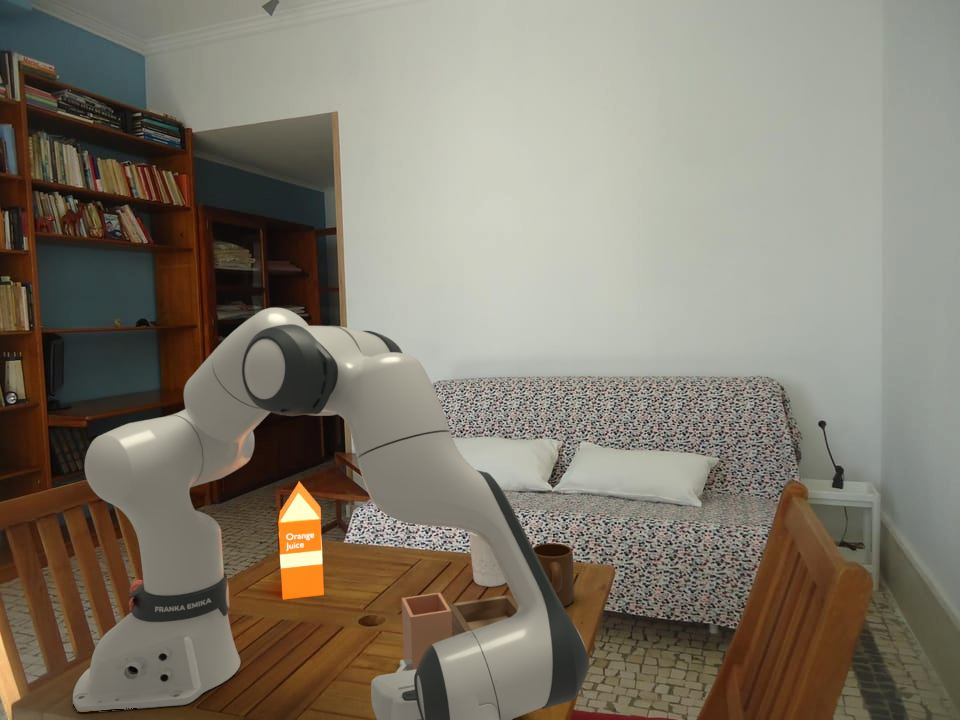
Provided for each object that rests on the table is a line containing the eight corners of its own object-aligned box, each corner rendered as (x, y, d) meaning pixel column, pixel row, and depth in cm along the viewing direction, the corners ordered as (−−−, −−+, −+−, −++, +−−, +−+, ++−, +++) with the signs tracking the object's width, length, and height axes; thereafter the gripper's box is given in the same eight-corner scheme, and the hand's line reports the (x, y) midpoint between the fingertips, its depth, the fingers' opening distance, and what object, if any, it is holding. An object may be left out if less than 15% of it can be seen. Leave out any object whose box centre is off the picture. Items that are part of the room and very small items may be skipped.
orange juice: (281, 599, 135) (276, 494, 133) (283, 581, 143) (278, 482, 141) (324, 594, 136) (319, 490, 135) (324, 577, 145) (319, 479, 143)
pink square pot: (413, 684, 104) (410, 617, 103) (403, 661, 110) (401, 598, 110) (453, 677, 105) (451, 610, 105) (442, 655, 112) (440, 592, 111)
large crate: (468, 660, 111) (467, 635, 110) (448, 627, 122) (448, 604, 122) (535, 648, 114) (535, 624, 114) (510, 617, 125) (510, 594, 125)
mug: (580, 619, 123) (579, 566, 122) (535, 621, 123) (534, 567, 122) (570, 591, 135) (570, 541, 134) (529, 592, 135) (528, 543, 134)
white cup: (486, 569, 147) (484, 521, 146) (519, 577, 142) (517, 527, 141) (462, 582, 140) (461, 532, 139) (496, 591, 136) (494, 539, 135)
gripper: (547, 673, 89) (510, 625, 102) (380, 703, 83) (364, 648, 96) (548, 722, 89) (511, 668, 102) (382, 756, 83) (366, 693, 97)
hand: (439, 658), depth 99 cm, fingers open, 8 cm apart
